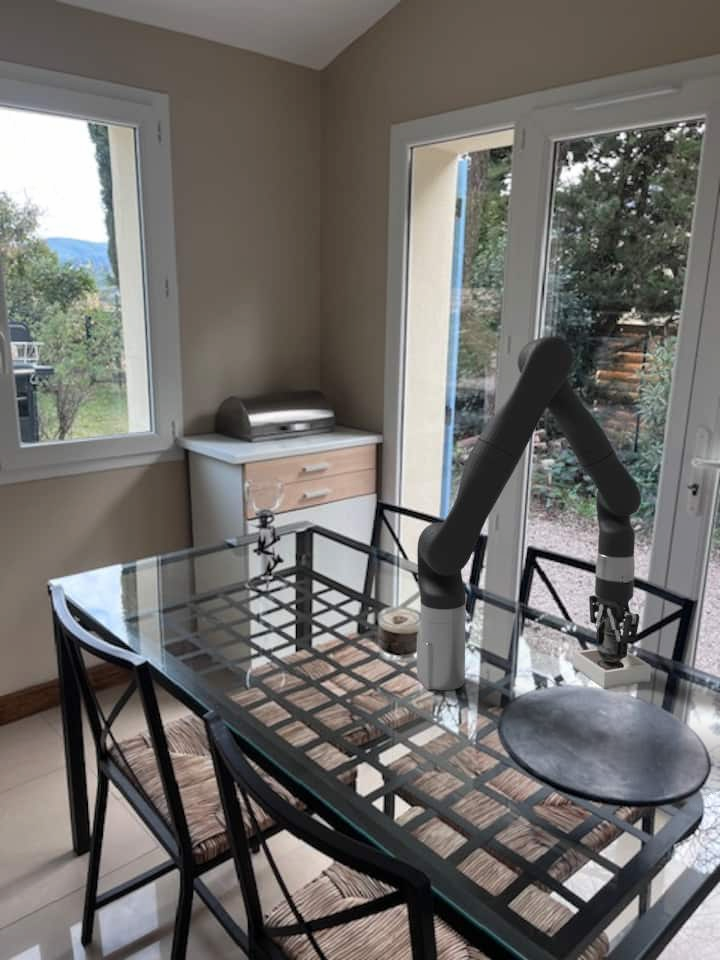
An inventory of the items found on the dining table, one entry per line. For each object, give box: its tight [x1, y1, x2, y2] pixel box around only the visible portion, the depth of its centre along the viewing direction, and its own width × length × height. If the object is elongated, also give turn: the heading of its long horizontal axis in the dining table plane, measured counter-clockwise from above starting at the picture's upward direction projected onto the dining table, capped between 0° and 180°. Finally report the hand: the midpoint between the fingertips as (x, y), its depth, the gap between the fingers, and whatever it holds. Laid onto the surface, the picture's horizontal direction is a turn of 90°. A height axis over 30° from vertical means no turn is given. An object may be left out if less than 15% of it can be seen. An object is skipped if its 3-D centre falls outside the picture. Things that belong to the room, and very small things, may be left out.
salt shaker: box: [596, 617, 624, 670], centre depth 151 cm, size 6×6×12 cm
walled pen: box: [572, 648, 652, 689], centre depth 152 cm, size 11×11×4 cm
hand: (611, 651), depth 151 cm, fingers closed on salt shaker, 6 cm apart
